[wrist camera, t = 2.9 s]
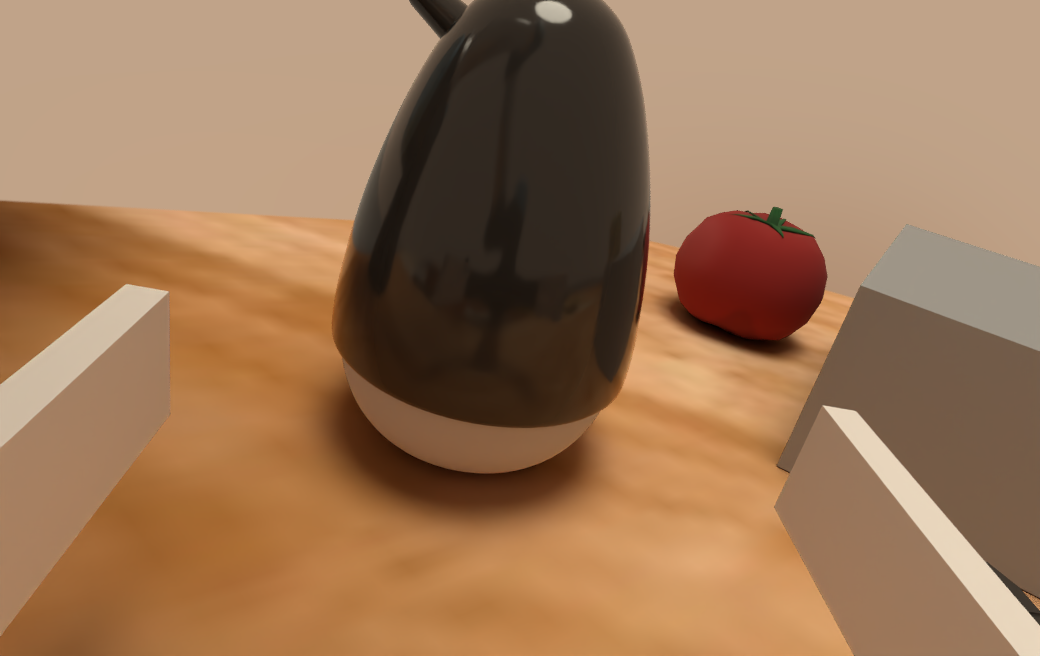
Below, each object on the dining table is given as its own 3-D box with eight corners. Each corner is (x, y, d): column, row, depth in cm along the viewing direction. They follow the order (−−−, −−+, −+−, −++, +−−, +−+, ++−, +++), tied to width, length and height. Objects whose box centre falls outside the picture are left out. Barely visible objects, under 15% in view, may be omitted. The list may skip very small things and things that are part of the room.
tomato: (727, 293, 46) (767, 188, 43) (826, 354, 40) (880, 237, 37) (636, 297, 41) (673, 181, 38) (731, 365, 36) (783, 234, 32)
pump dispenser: (448, 332, 32) (516, -28, 25) (643, 441, 27) (788, 33, 21) (255, 404, 24) (283, -93, 18) (483, 576, 19) (637, -19, 13)
